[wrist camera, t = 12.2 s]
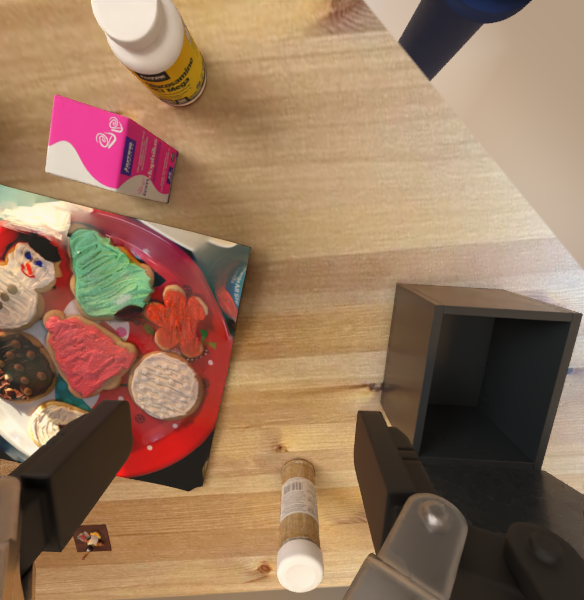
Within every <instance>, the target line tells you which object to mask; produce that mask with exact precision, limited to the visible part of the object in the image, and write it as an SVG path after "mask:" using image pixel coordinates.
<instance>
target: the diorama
mask: <svg viewBox="0 0 584 600" xmlns="http://www.w3.org/2000/svg"><path fill="white" fill-rule="evenodd" d="M73 537H74V540H75V544H76V548H77V552H87V553H86V554H84V557H83V558H82V560H84V559H85V557H86V556H87V555H88V554H89V552H91V551H111V547H110V542H109V538H108V534H107V530H106V525H91V526H79V528H78V529H77V531H76V532H75V533H74V535H73Z"/></svg>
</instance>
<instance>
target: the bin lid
mask: <svg viewBox="0 0 584 600" xmlns="http://www.w3.org/2000/svg"><path fill="white" fill-rule="evenodd" d="M422 465H423V466H424V468H425V470H426V472H427V474H428V476H429V478H430V480H431V482H432V483H433V485H434V487H435V489H436V491H437V493H438V495H439V496H440V497H442V498H444V499H446V500H447V501H449V502H450V503H452V504H453V505H454V506H455V507H457V509H458V510H459V511H460V512H461V513H462V515H463V516H464V518H465V520H466V522H467V523H469V524H471V525H473V526H476V527H479V528H482V529H485V530H488V531H491V532H495V533H498V534H501V535H504V536H506V535H507V530H508V528H509V526H510V525H511V524H513V523H516V522H529V523H533V524H537V525H539V526H542V527H544V528H546V529H548V530H550V531H552V532H554V533H555V534H557V535H558V536H560V537H561V538H563V539H564V540H565V541H566V542H568V543H569V544H570V545H571V546H572V547H573V548H574V549H575V550H576V551H577V553H578V554H579V555H580V556H581V557H582V559H583V560H584V495H583V494H581V493H580V492H578V491H577V490H575V489H573V488H572V487H570V486H568V485H567V484H565V483H564V482H562V481H560V480H559V479H557V478H556V477H554V476H552V475H551V474H549V473H547V472H546V471H542V470H525V469H508V468H491V467H474V466H457V465H440V464H423V463H422Z"/></svg>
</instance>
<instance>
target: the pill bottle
mask: <svg viewBox="0 0 584 600" xmlns="http://www.w3.org/2000/svg"><path fill="white" fill-rule="evenodd" d="M91 4H92V9H93V13H94V16H95V18H96V20H97V22H98V24H99V25H100V27H101V28H102V29H103V30H104V32H105V33H106V37H107V40H108V43H109V45H110V47H111V49H112V51H113V52H114V54H115V55H116V57H117V58H118V59H119V60H120V61H121V62H122V63H123V64H124V65H125V66H126V67H127V68H128V69H129V70H130V71H131V72H132V73H133V74H134V75H135V76H136V77H137V78H138V79H139V80H140V81H141V82H142V83H143V84H144V85H145V86H146V87H147V88H148V89H149V90H150V91H151V92H152V93H153V94H154V95H156V96H157V97H158V98H159V99H160V100H162V101H163V102H165V103H167V104H169V105H173V106H185V105H188V104H190V103H192V102H194V101H195V100H196V99H197V98H198V97H199V96H200V95H201V93H202V92H203V90H204V87H205V83H206V67H205V63H204V60H203V58H202V55H201V53H200V52H199V50H198V48H197V46H196V44H195V42H194V40H193V38H192V36H191V35H190V33H189V31H188V29H187V27H186V25H185V23H184V21H183V19H182V17H181V15H180V14H179V12H178V10H177V8H176V6H175V5H174V3H173V2H172V0H91Z"/></svg>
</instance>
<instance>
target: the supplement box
mask: <svg viewBox="0 0 584 600" xmlns="http://www.w3.org/2000/svg"><path fill="white" fill-rule="evenodd" d="M177 156H178V151H177V150H175V149H174V148H172V147H171V146H169V145H168V144H167V143H165V142H164V141H162V140H161V139H159V138H158V137H156V136H155V135H153V134H152V133H151V132H149V131H148V130H146V129H145V128H143V127H142V126H140V125H139V124H137V123H136V122H134V121H133V120H131V119H130V118H127V117H124V116H121V115H118V114H115V113H112V112H109V111H106V110H103V109H100V108H96V107H93V106H90V105H87V104H84V103H81V102H78V101H75V100H72V99H69V98H66V97H63V96H60V95H55V96H54V103H53V110H52V119H51V126H50V136H49V144H48V152H47V161H46V169H45V172H46V173H49V174H52V175H55V176H59V177H62V178H66V179H69V180H73V181H76V182H80V183H84V184H87V185H91V186H95V187H99V188H102V189H106V190H110V191H113V192H117V193H121V194H126V195H131V196H136V197H140V198H145V199H150V200H155V201H159V202H163V203H168V202H169V195H170V188H171V183H172V178H173V173H174V168H175V163H176V160H177Z"/></svg>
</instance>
